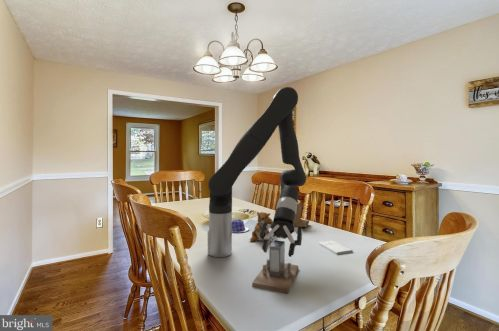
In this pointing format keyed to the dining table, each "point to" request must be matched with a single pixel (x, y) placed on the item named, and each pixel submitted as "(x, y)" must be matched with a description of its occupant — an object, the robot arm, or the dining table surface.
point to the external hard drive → (335, 247)
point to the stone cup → (298, 219)
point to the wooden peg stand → (276, 283)
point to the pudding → (238, 226)
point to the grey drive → (276, 258)
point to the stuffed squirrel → (261, 219)
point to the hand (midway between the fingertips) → (277, 253)
